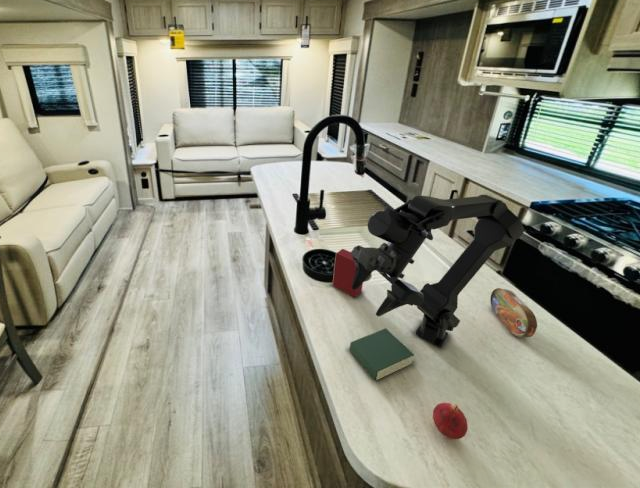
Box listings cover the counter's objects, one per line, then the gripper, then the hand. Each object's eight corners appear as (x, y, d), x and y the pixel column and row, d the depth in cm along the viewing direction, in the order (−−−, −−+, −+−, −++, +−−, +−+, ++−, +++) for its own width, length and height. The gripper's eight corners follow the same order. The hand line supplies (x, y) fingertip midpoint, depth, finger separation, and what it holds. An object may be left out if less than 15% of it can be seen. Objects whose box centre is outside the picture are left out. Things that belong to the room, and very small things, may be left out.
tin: (486, 303, 97) (494, 281, 93) (498, 304, 96) (506, 282, 93) (519, 343, 83) (529, 319, 80) (532, 345, 82) (543, 320, 79)
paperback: (361, 292, 103) (366, 259, 98) (355, 298, 100) (360, 264, 95) (338, 280, 109) (342, 248, 104) (332, 285, 106) (335, 252, 101)
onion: (463, 454, 60) (473, 428, 57) (428, 437, 63) (437, 411, 60) (461, 426, 64) (471, 400, 61) (429, 412, 67) (437, 386, 64)
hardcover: (384, 336, 86) (385, 328, 85) (412, 363, 78) (414, 355, 77) (349, 350, 82) (350, 342, 81) (375, 381, 74) (377, 372, 73)
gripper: (352, 218, 76) (320, 269, 79) (410, 261, 59) (365, 324, 63) (383, 232, 81) (351, 280, 84) (444, 275, 64) (401, 334, 67)
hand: (364, 301), depth 74 cm, fingers open, 9 cm apart
